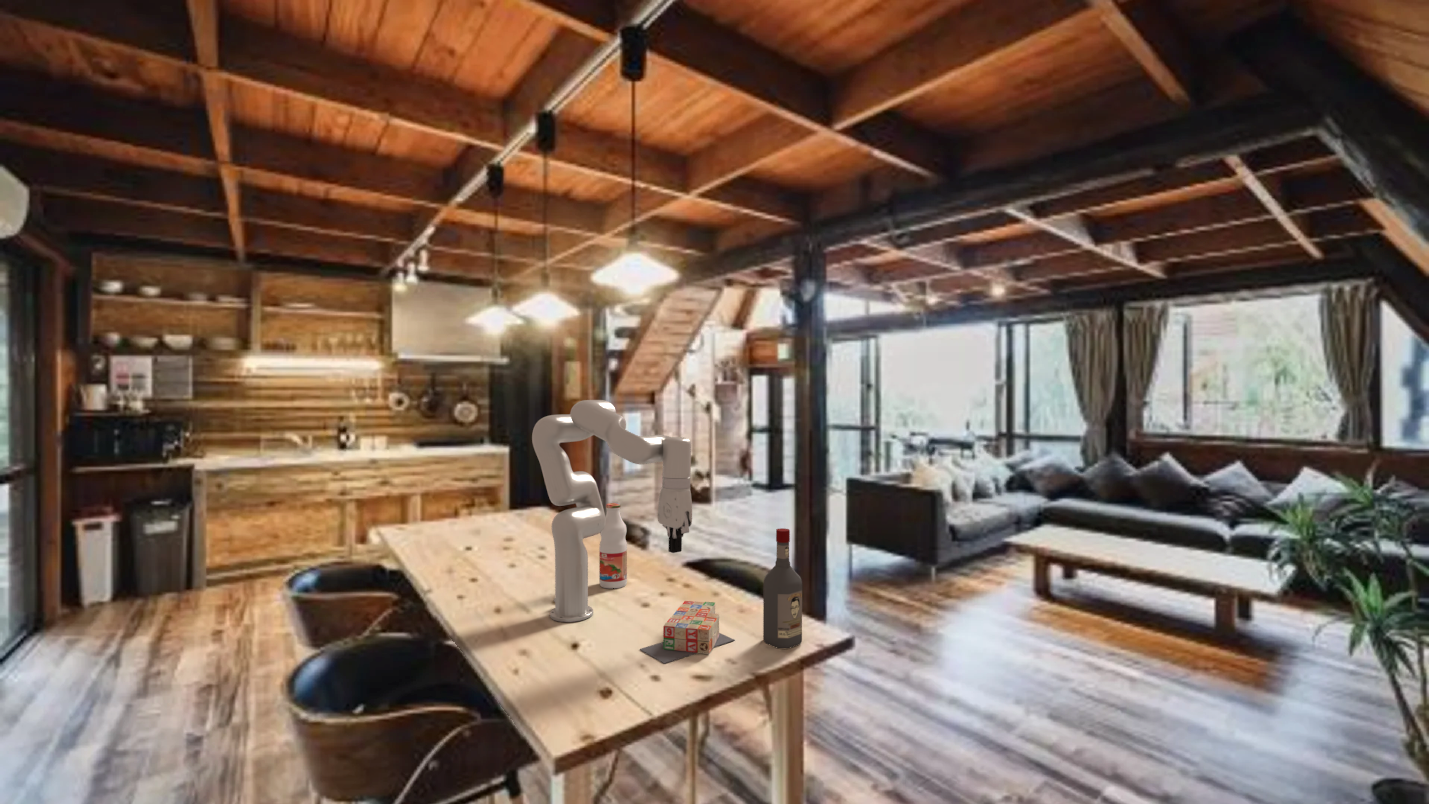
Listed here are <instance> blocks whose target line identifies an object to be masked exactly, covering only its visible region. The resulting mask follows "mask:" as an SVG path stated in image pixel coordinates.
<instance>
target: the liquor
mask: <svg viewBox="0 0 1429 804" xmlns="http://www.w3.org/2000/svg"><path fill="white" fill-rule="evenodd" d="M790 532H791V531H790V529H789V528H785V527H784V528H781V527H780V528H776V533H775V537H776V538H775V541H776V558H775V559H776V561H775V562H774V563H775V565H774V566H773V567H772V568H771V569H770V570H769V571H768V573H766V574H765V576H764V578H763V592H762V593H763V599H762V600H763V601H762V603H763V608H762V610H763V617H762V618H763V619H762V620H763V623H762V626H763V627H762V630H763V631H762V634H763V636H762V637H763V638H762V639H763V641H764V643H765V644H767V645H769V644H770V645H769V646H771V647H773V646H774V648H776V647H777V648H776V649H778V648H789V649H791V648H794V647H796V645H797V646H799V645H801V643H802V642H803V580H802V577H801V576H800V575H799V574H798V573H797V571H795V569H794V568H793V567H792V565H791V562H790V541H791V540H790V539H791V537H790V535H791V534H790ZM798 644H799V645H798ZM793 646H794V647H793ZM790 647H791V648H790Z"/></svg>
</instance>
